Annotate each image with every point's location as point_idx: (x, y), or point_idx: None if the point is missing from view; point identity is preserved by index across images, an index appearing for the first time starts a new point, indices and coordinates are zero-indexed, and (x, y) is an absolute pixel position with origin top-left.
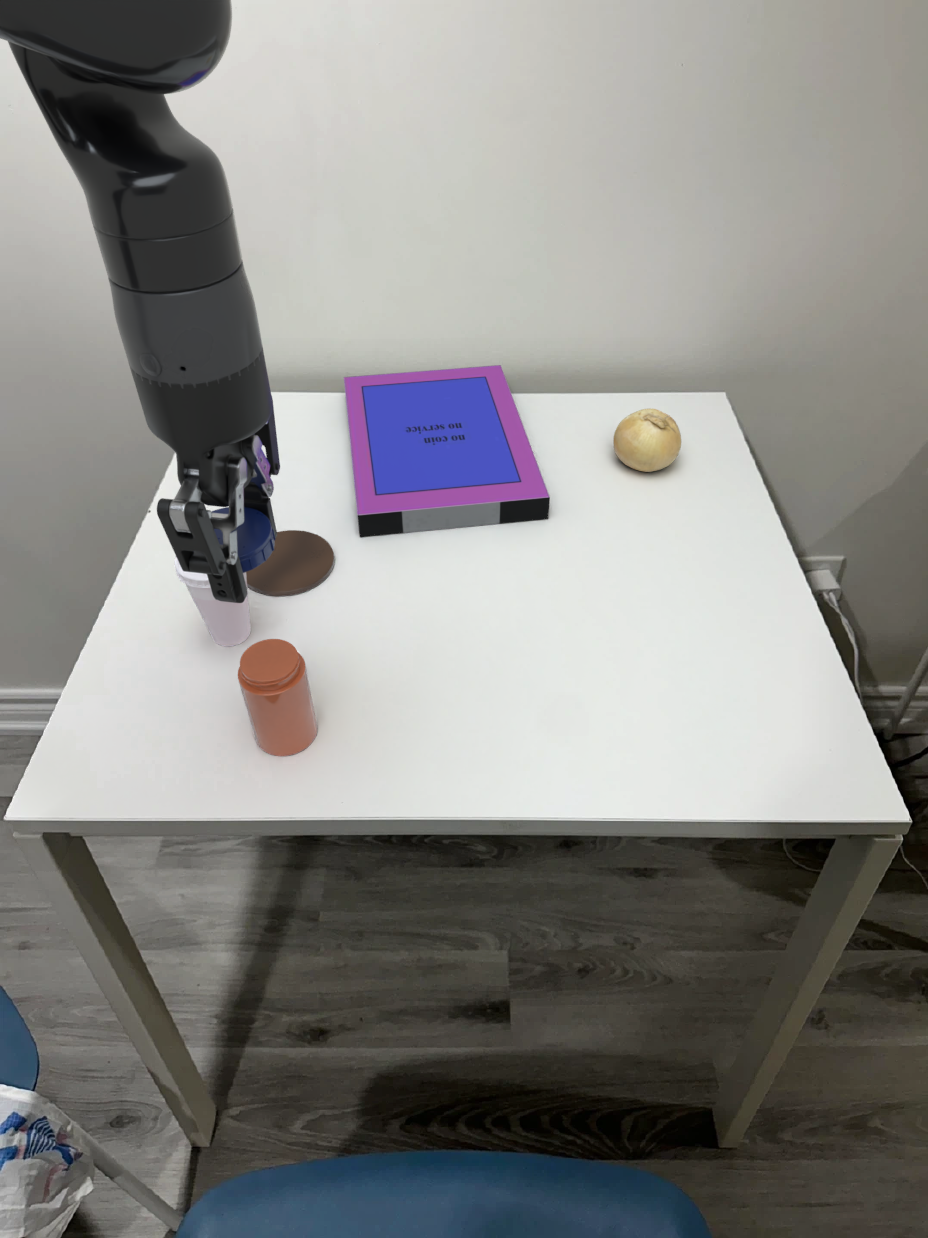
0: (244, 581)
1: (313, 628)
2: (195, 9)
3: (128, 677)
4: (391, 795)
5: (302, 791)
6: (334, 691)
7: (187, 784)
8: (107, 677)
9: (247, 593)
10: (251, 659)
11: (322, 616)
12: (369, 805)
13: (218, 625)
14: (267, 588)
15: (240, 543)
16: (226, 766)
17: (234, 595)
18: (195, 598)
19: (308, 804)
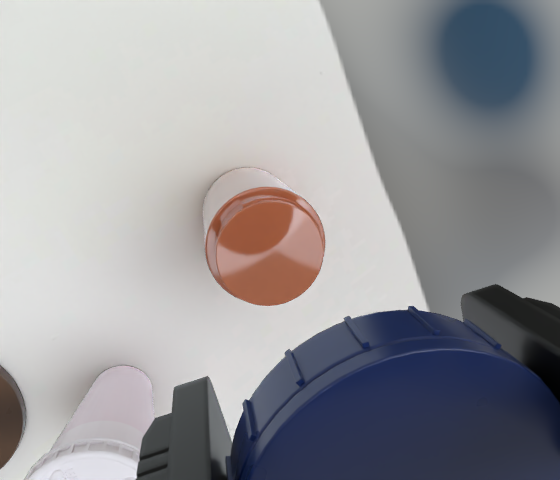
0: (506, 312)
1: (47, 291)
2: None
3: None
4: (284, 8)
5: (325, 135)
6: (149, 189)
7: (369, 275)
8: None
9: (467, 293)
10: (283, 283)
11: (14, 294)
12: (311, 32)
13: (151, 407)
14: (13, 404)
15: (463, 428)
16: (329, 250)
17: (542, 307)
18: None
19: (340, 116)
